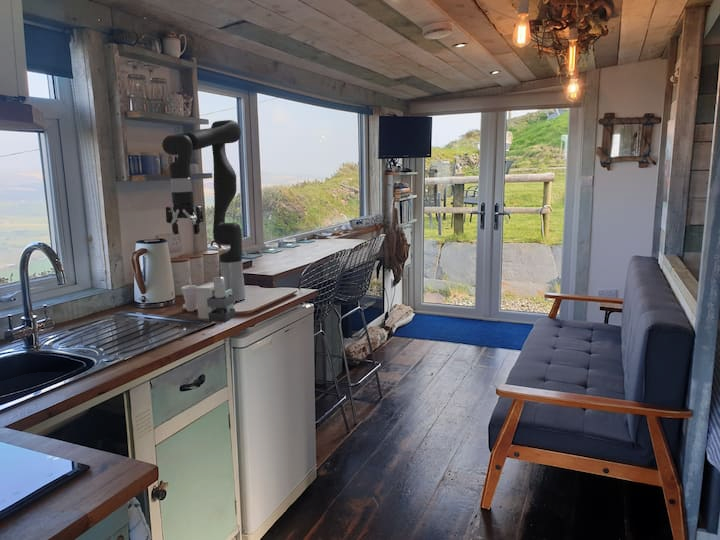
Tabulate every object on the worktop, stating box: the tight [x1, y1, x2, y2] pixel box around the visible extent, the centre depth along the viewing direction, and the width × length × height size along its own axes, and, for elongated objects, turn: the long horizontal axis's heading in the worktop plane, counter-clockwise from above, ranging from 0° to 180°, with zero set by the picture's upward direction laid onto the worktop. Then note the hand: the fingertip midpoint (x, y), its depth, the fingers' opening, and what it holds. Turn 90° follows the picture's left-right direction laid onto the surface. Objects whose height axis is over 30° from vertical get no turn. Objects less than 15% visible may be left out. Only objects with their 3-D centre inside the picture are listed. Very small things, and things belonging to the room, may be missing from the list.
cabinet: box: [196, 281, 236, 323], centre depth 207 cm, size 13×13×12 cm
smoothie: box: [180, 275, 199, 312], centre depth 217 cm, size 6×6×14 cm
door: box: [212, 275, 235, 314], centre depth 206 cm, size 4×10×16 cm, turn 165°
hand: (186, 234), depth 203 cm, fingers open, 8 cm apart
